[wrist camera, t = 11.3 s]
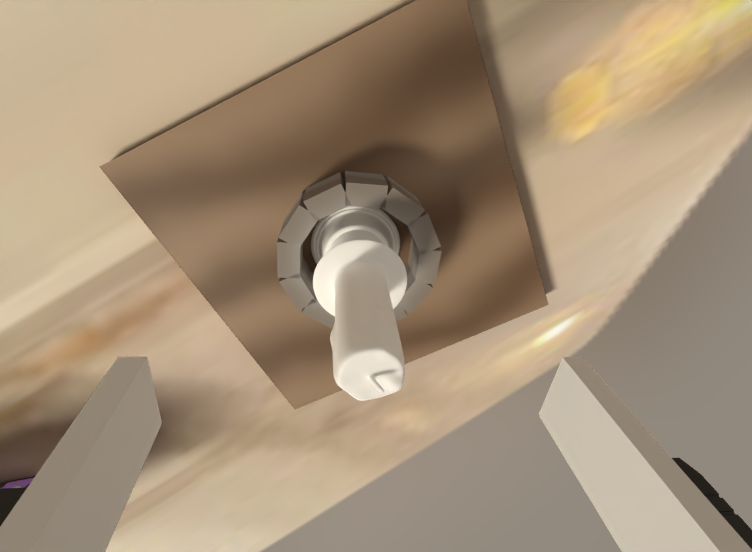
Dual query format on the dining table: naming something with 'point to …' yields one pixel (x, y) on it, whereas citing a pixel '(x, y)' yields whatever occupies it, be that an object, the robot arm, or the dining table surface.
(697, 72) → the dining table surface
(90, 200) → the dining table surface
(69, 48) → the dining table surface
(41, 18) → the dining table surface
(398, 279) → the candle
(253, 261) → the flange board
